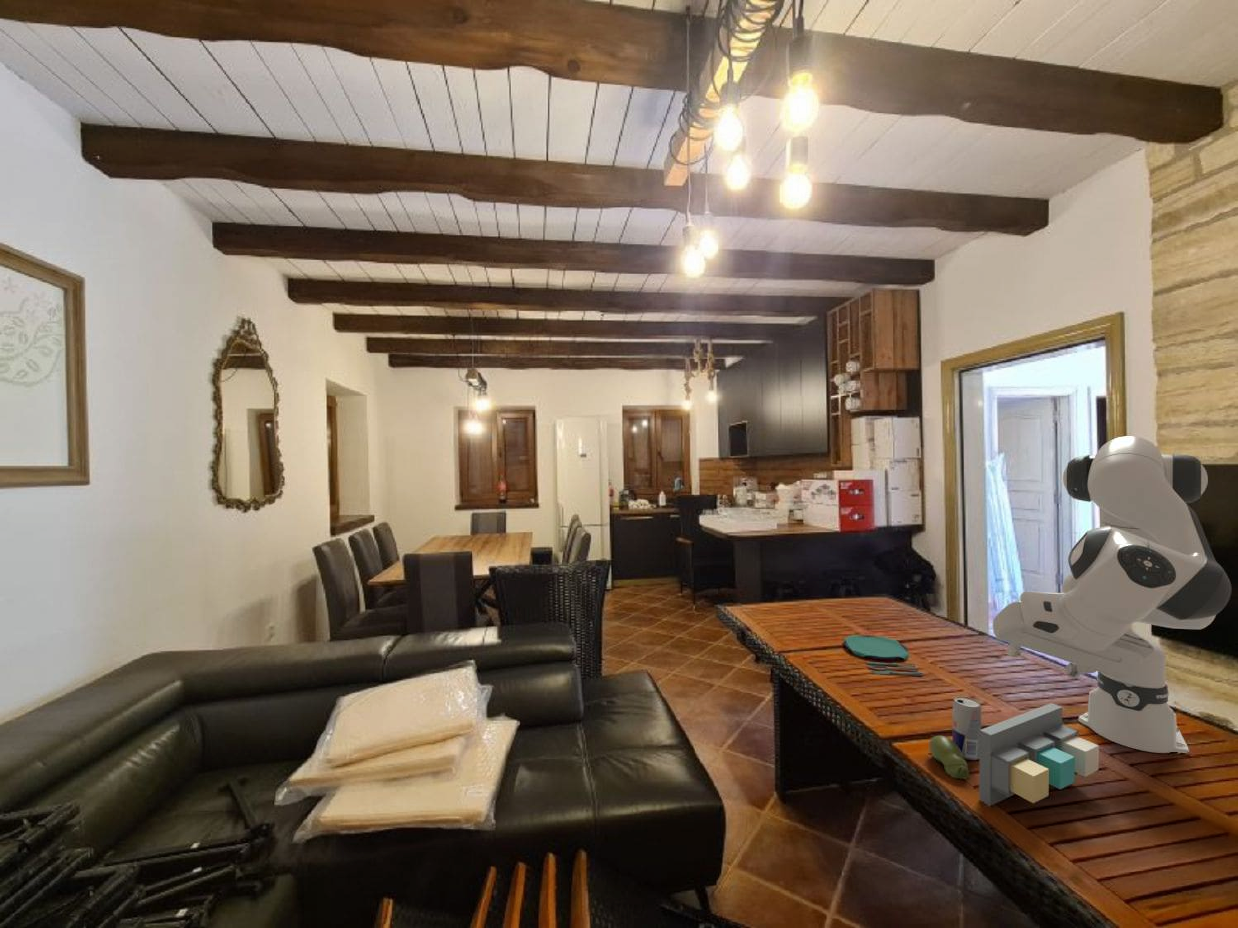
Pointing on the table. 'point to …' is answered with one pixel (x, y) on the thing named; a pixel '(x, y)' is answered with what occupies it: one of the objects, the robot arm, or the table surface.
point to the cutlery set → (880, 652)
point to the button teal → (1057, 766)
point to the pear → (949, 756)
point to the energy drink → (967, 726)
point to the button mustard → (1029, 780)
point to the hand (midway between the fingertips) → (1040, 663)
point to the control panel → (1017, 747)
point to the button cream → (1082, 754)
